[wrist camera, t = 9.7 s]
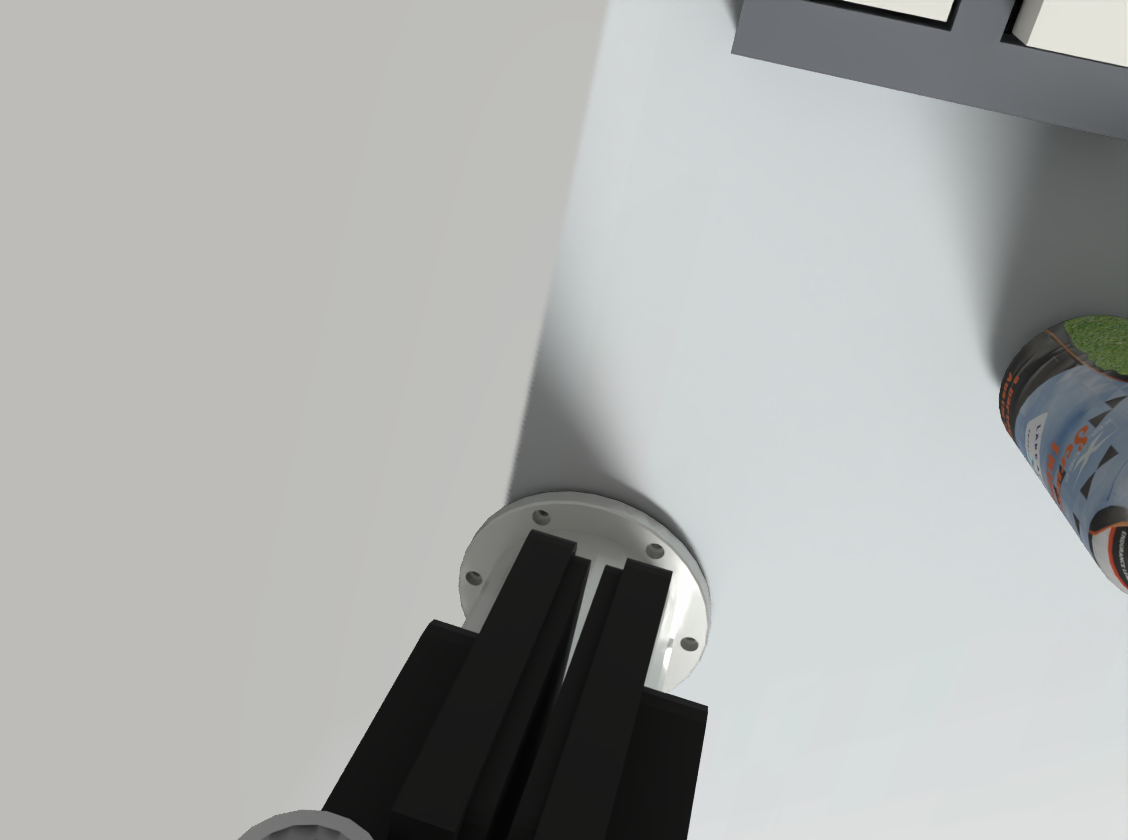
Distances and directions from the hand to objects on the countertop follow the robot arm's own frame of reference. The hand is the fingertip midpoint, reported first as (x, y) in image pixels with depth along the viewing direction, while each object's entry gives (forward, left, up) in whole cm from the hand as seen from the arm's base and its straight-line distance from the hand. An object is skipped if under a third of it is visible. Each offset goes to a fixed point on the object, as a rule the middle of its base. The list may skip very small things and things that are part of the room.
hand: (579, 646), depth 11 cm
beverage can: (+2, -16, -29) cm, 33 cm away
